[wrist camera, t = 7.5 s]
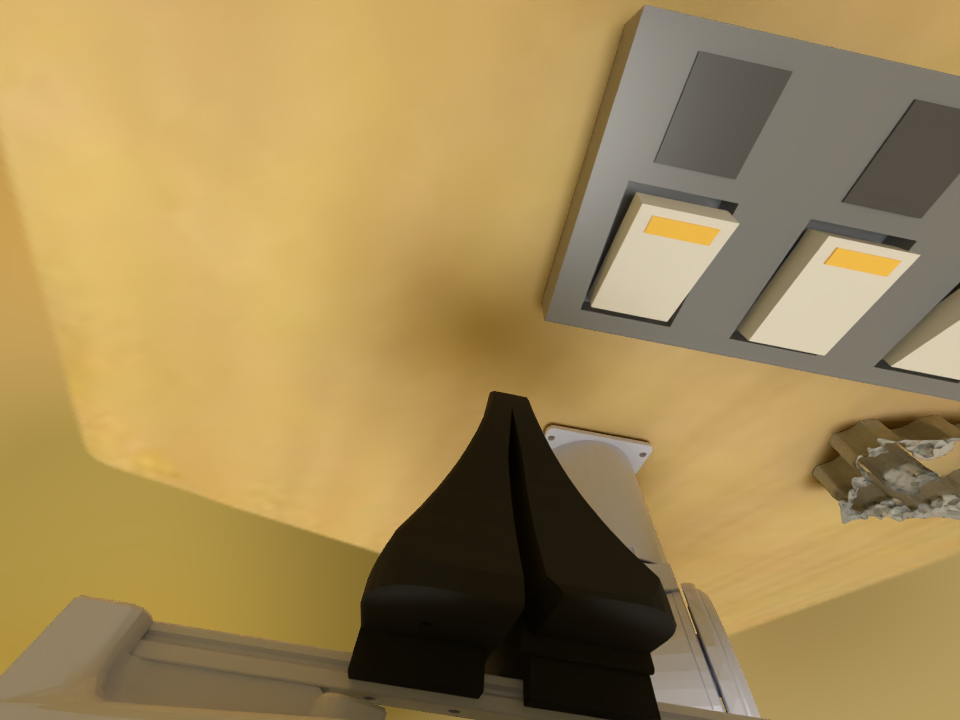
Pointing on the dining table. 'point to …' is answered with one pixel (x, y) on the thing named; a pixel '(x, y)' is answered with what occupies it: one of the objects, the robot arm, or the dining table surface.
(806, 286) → the rocker middle
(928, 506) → the egg carton
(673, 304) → the labelled cream tile
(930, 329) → the rocker carton end
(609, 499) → the robot arm
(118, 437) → the dining table surface
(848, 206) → the grey rocker switch panel
